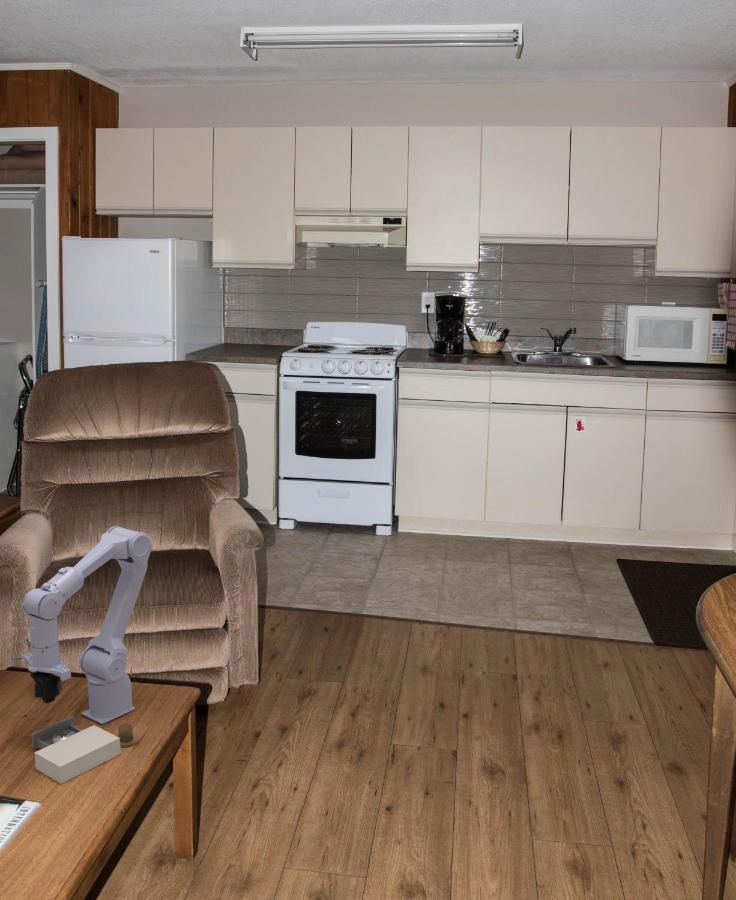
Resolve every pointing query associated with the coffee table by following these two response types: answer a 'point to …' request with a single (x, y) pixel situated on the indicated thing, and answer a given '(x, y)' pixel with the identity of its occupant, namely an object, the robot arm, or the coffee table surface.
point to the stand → (127, 736)
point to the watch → (37, 692)
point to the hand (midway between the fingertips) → (49, 701)
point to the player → (77, 754)
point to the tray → (52, 732)
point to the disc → (61, 735)
